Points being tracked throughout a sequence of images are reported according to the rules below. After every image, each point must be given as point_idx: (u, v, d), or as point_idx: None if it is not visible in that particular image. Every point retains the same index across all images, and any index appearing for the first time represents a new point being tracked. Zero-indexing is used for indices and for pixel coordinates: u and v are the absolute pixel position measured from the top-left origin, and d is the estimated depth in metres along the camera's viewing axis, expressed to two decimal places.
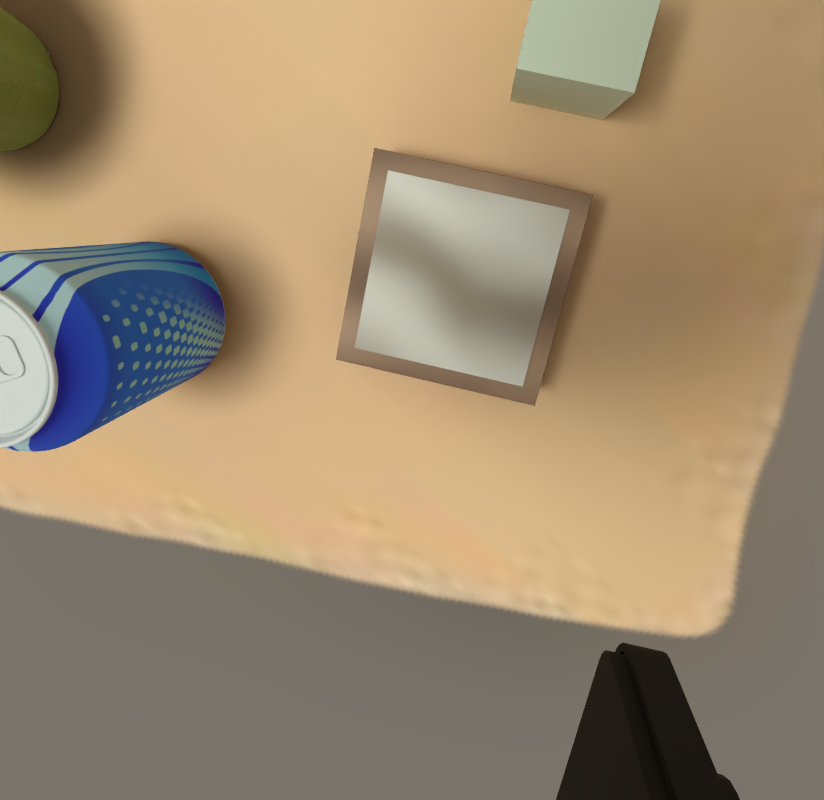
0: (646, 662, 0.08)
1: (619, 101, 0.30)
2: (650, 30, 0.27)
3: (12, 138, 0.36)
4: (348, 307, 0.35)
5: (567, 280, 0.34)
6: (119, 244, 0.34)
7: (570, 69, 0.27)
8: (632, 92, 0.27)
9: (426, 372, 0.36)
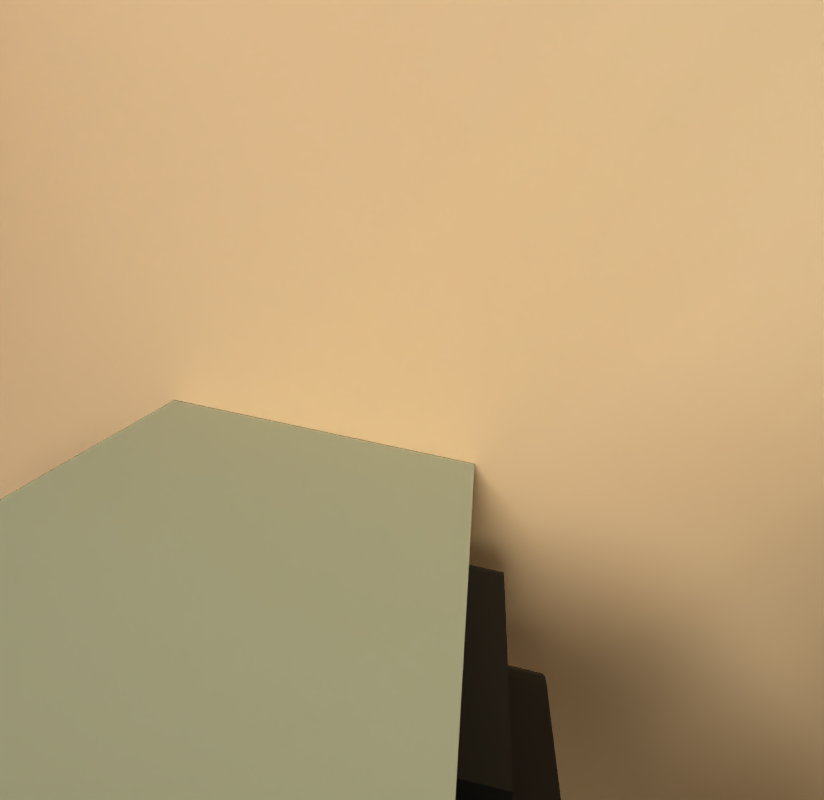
0: (480, 578, 0.09)
1: None
2: None
3: None
4: None
5: None
6: None
7: None
8: None
9: None
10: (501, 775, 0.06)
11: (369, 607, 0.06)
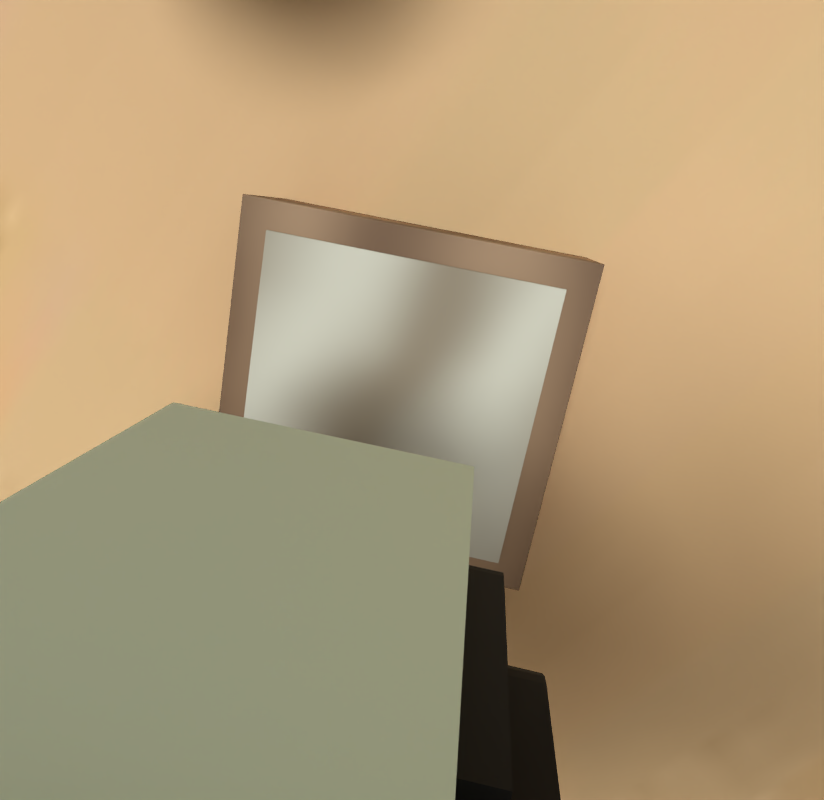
0: (480, 578, 0.09)
1: None
2: None
3: None
4: (335, 217, 0.20)
5: None
6: None
7: None
8: None
9: (238, 354, 0.21)
10: (501, 775, 0.06)
11: (367, 611, 0.06)
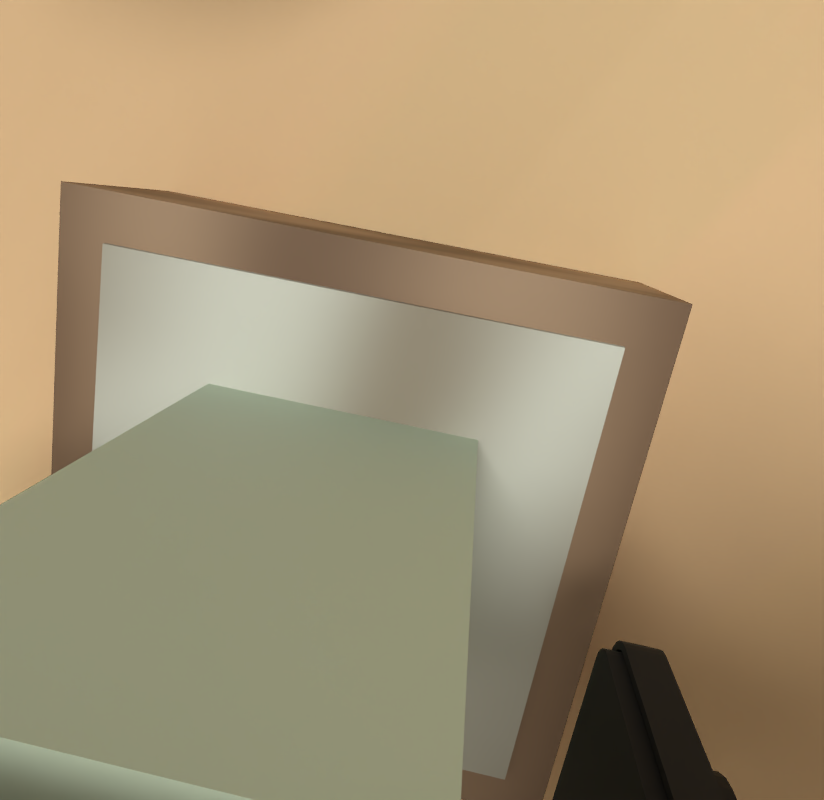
0: (642, 660, 0.08)
1: None
2: None
3: None
4: (220, 222, 0.11)
5: None
6: None
7: None
8: None
9: (73, 448, 0.13)
10: None
11: (391, 545, 0.08)
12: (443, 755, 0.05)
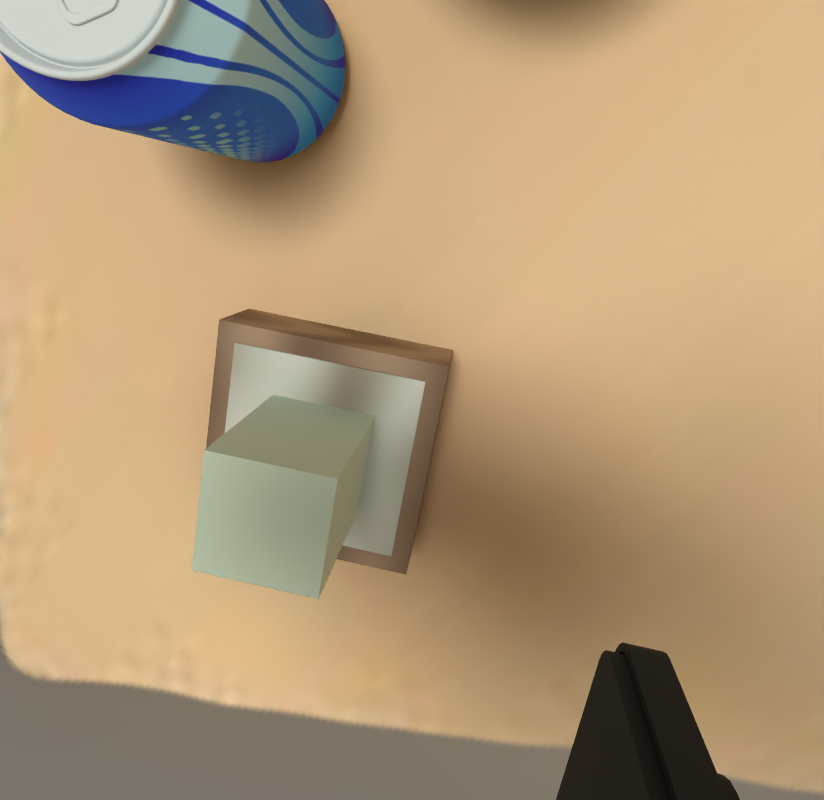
0: (646, 662, 0.08)
1: None
2: (251, 582, 0.25)
3: None
4: (278, 335, 0.31)
5: None
6: (326, 47, 0.27)
7: (208, 506, 0.25)
8: (193, 567, 0.25)
9: (217, 420, 0.33)
10: None
11: (334, 441, 0.27)
12: (338, 471, 0.24)
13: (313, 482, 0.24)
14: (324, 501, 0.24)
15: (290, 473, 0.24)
